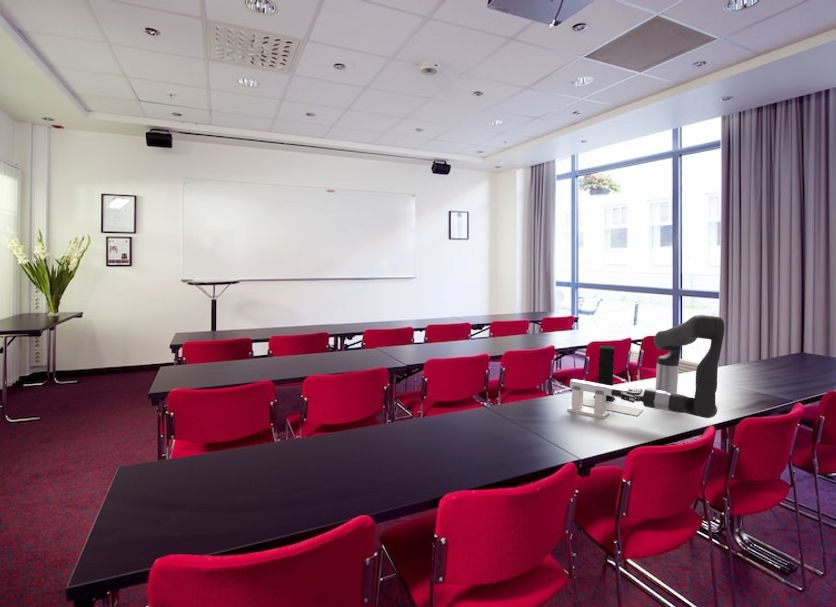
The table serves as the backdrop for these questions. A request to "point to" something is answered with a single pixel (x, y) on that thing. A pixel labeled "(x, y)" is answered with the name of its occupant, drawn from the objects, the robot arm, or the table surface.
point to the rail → (595, 387)
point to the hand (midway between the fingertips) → (613, 391)
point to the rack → (578, 407)
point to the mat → (614, 407)
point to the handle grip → (606, 367)
